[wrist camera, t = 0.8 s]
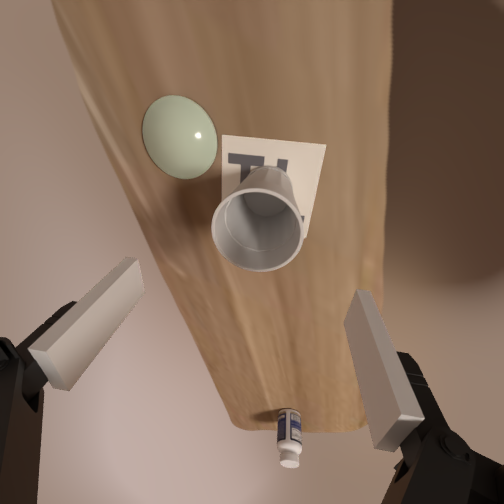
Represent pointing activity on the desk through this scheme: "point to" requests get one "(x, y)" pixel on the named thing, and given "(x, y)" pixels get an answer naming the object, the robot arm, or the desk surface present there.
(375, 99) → the desk surface
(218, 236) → the cup
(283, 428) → the pill bottle
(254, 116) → the desk surface
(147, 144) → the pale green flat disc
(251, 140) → the tile
